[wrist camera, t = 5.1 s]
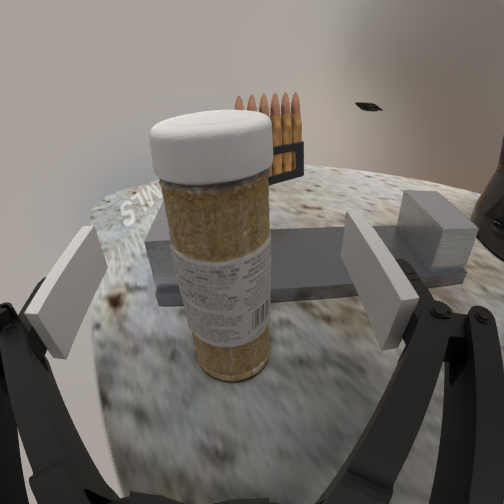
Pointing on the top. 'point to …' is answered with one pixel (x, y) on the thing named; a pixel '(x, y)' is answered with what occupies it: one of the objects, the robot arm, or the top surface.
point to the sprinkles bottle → (220, 232)
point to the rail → (329, 250)
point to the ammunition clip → (282, 136)
